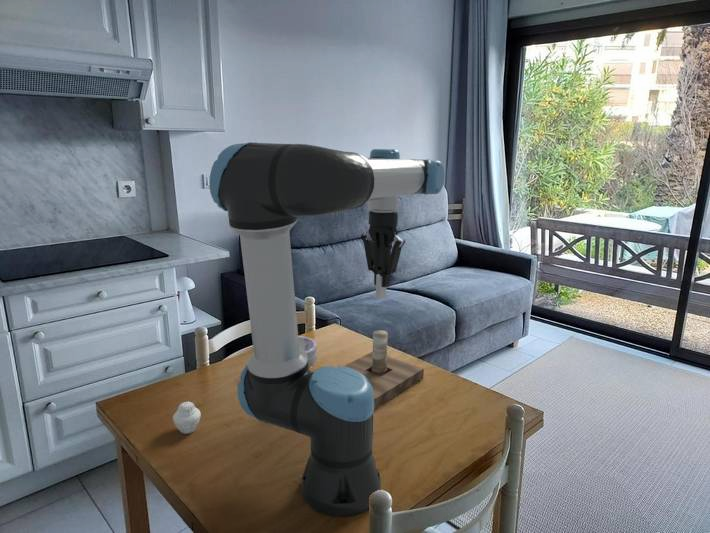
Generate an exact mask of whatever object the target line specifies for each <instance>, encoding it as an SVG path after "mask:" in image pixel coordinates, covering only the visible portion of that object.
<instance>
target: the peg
mask: <svg viewBox="0 0 710 533" xmlns="http://www.w3.org/2000/svg"><path fill="white" fill-rule="evenodd" d="M388 335H389V334H388V332H387V331H386V330H375V331H373V332H372V352H373V358H372V373H374V374H376V375H379V376H383V375H384V374H386V371H387V356H388V339H389V338H388V337H389V336H388Z"/></svg>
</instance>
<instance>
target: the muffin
mask: <svg viewBox="0 0 710 533" xmlns="http://www.w3.org/2000/svg"><path fill="white" fill-rule="evenodd" d="M201 416H202V413H201V411H200V409H199V408H197V407H196V406H195V404H194V402H191V401H184V402H182V403H180V404H178V407H177V410H176V411H175V412H174V414H173V416H172V420H173V422H174V425H175V426H176V428H177V430H179V432H180V433H181V434H192V433H193V432H195V431H196V428H197V427H198V425H199V423H200V420H201Z"/></svg>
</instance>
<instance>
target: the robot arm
mask: <svg viewBox="0 0 710 533" xmlns="http://www.w3.org/2000/svg"><path fill="white" fill-rule="evenodd" d="M400 154H401V153H400V151H399V150H398V149H392V148H391V149H388V148H374V149H373V148H372V150H371V151H370V153H369V157H364V155H362V154H359V153H357V152H353V151H343V150H338V149H332V148H329V147H323V146H319V145H318V146H317V145H314V144H313V145H312V144H307V143H305V144H304V143H294V144H293V143H271V142H269V143H268V142H244V143H235V144H231V145H229V146H227V147H225V148H224V149H222V151H220V153H219V154H218V156H217V159H216V160H214V162H213V164H212V166H211V170H210V174H209V183H208V184H209V192H210V194H211V195H210V196H211V199H212V200H213V202H214V203H215V204H216V205H217V207H218V208H220V209H221V210H223V211H224V212H227V216H228V224H229V227H230V229H231V230H233V231H234V232H236V233H237V235H239V238H240V247H241V256H242V264H243V271H244V281H245V288H246V289H245V290H246V297H247V305H248V314H249V322H250V329H251V331H250V332H251V339H252V347H253V354H251V355H250V357H249V358H248V359H247V362H246V363H247V364H246V365H245V367H243V369H242V371H241V373H240V375H239V377H240V381H238V382H237V397H238V402H239V404H240V407H241V408H242V410H243V411H244V412H245V414H247V415H248V416H250V417H252V418H254V419H256V420H257V421H259V422H263V423H266V424H271V425H274V426H277V427H279V428H282V429H283V428H284V429H286V430H288V431H292V432H295V433H298V434H300V435H302V436H303V435H304V436H306V437H309V438H310V454H309V457H308V460H307V463H306V465H305V468H304V471H303V474H302V479H301V494H302V498H303V500H304V501H305V503H306V504H307V505H308V506H309V507H310V508H311V509H313V510H314V511H316V512H318V513H319V514H320V513H321V514H323V515H326V516H332V517H338V518H340V517H341V518H342V517H343V518H344V517H345V518H346V517H352V516H355V515H358V514H362V513H364V512H366V511H368V510H369V509H370V508H369V497H370V495H371V494H372V493H373V492H375V491H377V490H380V491H381V488H382V487H381V484H382V483H381V482H382V480H381V474H380V472H379V469H378V468H377V466H376V460H375V456H374V455H373V439H374V438H373V436H374V415H375V414H374V412H375V410H374V406H375V405H374V398H373V388H372V385H371V384H370V381H369V380H368V379H367V378H366V377H365V376H364V375H363V374H361V373H360V372H358V371H356V370H354V369H351V368H347V367H343V366H342V365H337V366H333V365H329V366H328V365H327V366H322V367H320V368H317V369H316V370H315V371H313V370H310V368H309V365H308V356H307V354H306V352H305V351H304V350H302V349H300V348H299V340H298V336H299V330H298V320H297V319H298V316H297V307H296V295H295V285H294V284H295V283H294V282H295V281H294V273H293V272H294V271H293V270H294V269H293V259H292V258H293V257H292V247H291V246H292V245H291V237H290V236H291V234H290V232H291V231H290V230H291V229H292V228H293V227H294V226H295V225H296V224H297V222H298V218H310V217H311V218H312V217H319V216H324V215H330V214H336V213H339V212H344V211H349V210H355V209H359V208H361V207H362V206H364V205H365V204H367V202H368V209H369V212H368V225H369V228H368V232H366V233H364V234H361V235H360V238H361V241H362V243H363V246H364V252H365V258H366V263H367V264H366V265H367V270H368V271H371V272H372V273H373V276H374V277H373V278H374V279H373V284H374V286H375V299H377V300H382V299H385V298H386V297H387V288H388V287H389V284H390V283H389V282H390V275H392V274H395V273H396V271H397V268H398V264H399V259H400V255H401V251H402V248H403V247H404V245H405V243H406V240H405V239H404V238H401V237H400V236H398V234H399V233H398V230H397V226H398V225H399V224H398V222H399V221H398V220H399V219H398V218H399V213H398V211H397V210H398V209H399V197H403V196H406V195H407V196H408V195H416V194H421V195H437V194H439V193H441V191H442V189H443V187H444V182H445V168H444V164H443V163H442V161H440V160H437V159H434V160H433V159H416V158H415V159H414V158H413V159H412V158H409V159H408V158H407V159H406V158H404V159H403V158H401V157H400V156H401V155H400ZM368 508H369V509H368Z"/></svg>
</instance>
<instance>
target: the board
mask: <svg viewBox="0 0 710 533" xmlns="http://www.w3.org/2000/svg"><path fill="white" fill-rule="evenodd" d="M372 358H373V351H370V352H369V353H367V354H365V355H364V356H362V357H360V358H357V359H355V360H352V361H351V362H348V363H346V364H345V365H343V366H342V367H347V368H351V369H354V370H356V371H358V372H360V373H361V374H363V375H364V376H365V377H366V378H367V379H368V380H369V381H370V384H371V385H372V388H373V398H374V405H375V406H374V411H375V410H376V409H378V408H379V407H381V406H382V405H384V404H386V403H387V402H389V401H390V400H393V399H394V398H396V397H397V396H398V395H400V394H402V393H403V392H405V391H406V390H407V389H409V388H410V387H413V385H415V384H417V383H419V381H421V380H423V379H424V374H425V372H424V371H425V370H424V367H421V366H417V365H415V364H411V363H410V362H409V363H408V362H406V361H402V360H399V359H397V358H394V357H391V356H388V355H387V371H386V374H384V375H383V376H379V375H376V374H374V373H372Z"/></svg>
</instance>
